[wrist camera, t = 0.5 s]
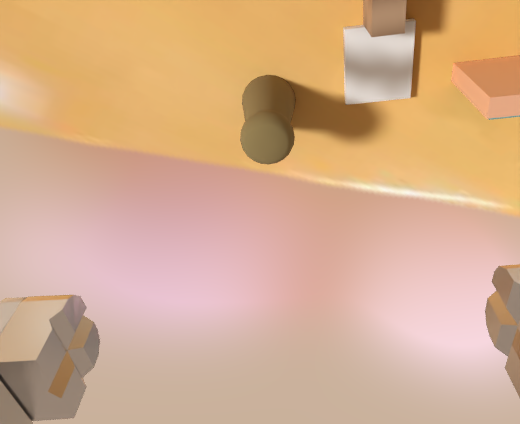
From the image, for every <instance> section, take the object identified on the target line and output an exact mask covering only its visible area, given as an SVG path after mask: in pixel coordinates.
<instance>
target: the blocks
mask: <svg viewBox="0 0 520 424" xmlns="http://www.w3.org/2000/svg"><path fill="white" fill-rule="evenodd" d="M406 2H407V0H363V25H357V26H349V27H343V31H344V87H345V104H346V105H349V104H359V103H368V102H377V101H387V100H396V99H405V98H411V84H412V69H413V55H414V41H415V27H416V20H415V19H414V18H413V19H406Z"/></svg>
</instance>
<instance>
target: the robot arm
mask: <svg viewBox="0 0 520 424" xmlns="http://www.w3.org/2000/svg"><path fill="white" fill-rule="evenodd" d="M492 283H493V284H494V286H495V288H496V290H497V291H496V292H495V293H493V294H492V295H491V296H490V297H489V298H488V299H487V304H486V310H485V313H486V325H487V328H488V332H489V335H490V337H491V340H492V342H493V344H494V346H495V347H496V348H497V349H498V350H500V351H501V352H502V353H504V354H505V355H507V356H508V359H507V362H506V366H505V369H506V371H507V373H508V375H509V377H510V379H511V381H512V383H513V385H514V387H515V389H516V391H517V393H518V395H519V397H520V265H506V266H498V268H497V269H496V270H495V272H494V275H493V279H492ZM85 310H86V306H85V304H84V302H83V300H82V299H81V297H80V296H76V295H59V296H34V297H24V298H23V297H22V298H5V299H3V300H2V301H0V424H33V422H32V421H39V420H54V419H68V418H74V417H75V415H76V412H77V410H78V407H79V405H80V402H81V399H82V397H83V394H84V392H85V389H86V385H85V382H84V379H83V377H84V376H85V375H86V374H87V373H88V372H89V371H91V370H92V369H93V368H94V366H95V363H96V360H97V357H98V354H99V344H100V339H99V334H98V330H97V328H96V325H95V324H94V322H93V321H91V320H90V319H88V318H87V317H85V316H84V315H83V314H84V312H85Z"/></svg>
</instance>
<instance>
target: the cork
mask: <svg viewBox="0 0 520 424" xmlns="http://www.w3.org/2000/svg"><path fill="white" fill-rule="evenodd" d="M295 100H296V99H295V95H294V91H293V89H292V88H291V86H290V84H288V83H287V82H286V81H285V80H284V79H282V78H280V77H277V76H272V75H265V76H261V77H258V78H256V79H254V80H253V81H251V82H250V83H249V85H248V86H247V87H246V88H245V91H244V93H243V99H242V105H243V110H244V116H245V123H244V125H243V127H242V130H241V138H240V141H241V144H242V148H243V150H244V152H245V153H246V154H247V156H248V157H249V158H251V159H252V160H253V161H256V162H258V163H261V164H273V163H277V162H279V161H281V160H283V159H284V158H285V157H286V156H287V155H288V154H289V153H290V151H291V149H292V147H293V145H294V138H295V137H294V131H293V127H292V125H291V120H292V116H293V112H294V108H295Z"/></svg>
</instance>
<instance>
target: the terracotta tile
mask: <svg viewBox="0 0 520 424" xmlns="http://www.w3.org/2000/svg"><path fill="white" fill-rule="evenodd" d="M451 82H452V83H453V84H454V85H455V86H456V87H457V88H458V89H459V90H460V91H461V92H462V93H463V94H464V95H465V96H466V97H467V98H468V100H469V101H470V102H471V103H472V104H473V105H474V106H475V107H476V108H477V109H478V110H479V111H480V112H481V113H482V114H483V115H484V117H485V118H486V119H489V120H490V119H500V118H510V117H520V55H518V56H510V57H501V58H492V59H483V60H475V61H466V62H457V63H453V71H452V80H451Z"/></svg>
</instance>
